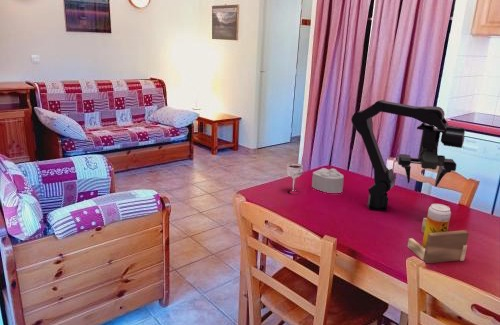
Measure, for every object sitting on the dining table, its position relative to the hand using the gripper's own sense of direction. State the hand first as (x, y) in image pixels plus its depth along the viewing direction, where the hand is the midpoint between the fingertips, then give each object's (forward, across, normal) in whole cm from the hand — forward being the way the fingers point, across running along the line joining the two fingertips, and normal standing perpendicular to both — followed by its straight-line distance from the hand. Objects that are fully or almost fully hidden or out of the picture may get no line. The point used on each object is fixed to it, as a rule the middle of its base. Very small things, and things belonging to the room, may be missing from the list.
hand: (421, 184), depth 139 cm
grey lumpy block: (+14, -34, +18) cm, 41 cm away
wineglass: (+13, -48, +9) cm, 51 cm away
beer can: (+13, +2, -26) cm, 29 cm away
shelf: (+13, 0, -22) cm, 26 cm away
